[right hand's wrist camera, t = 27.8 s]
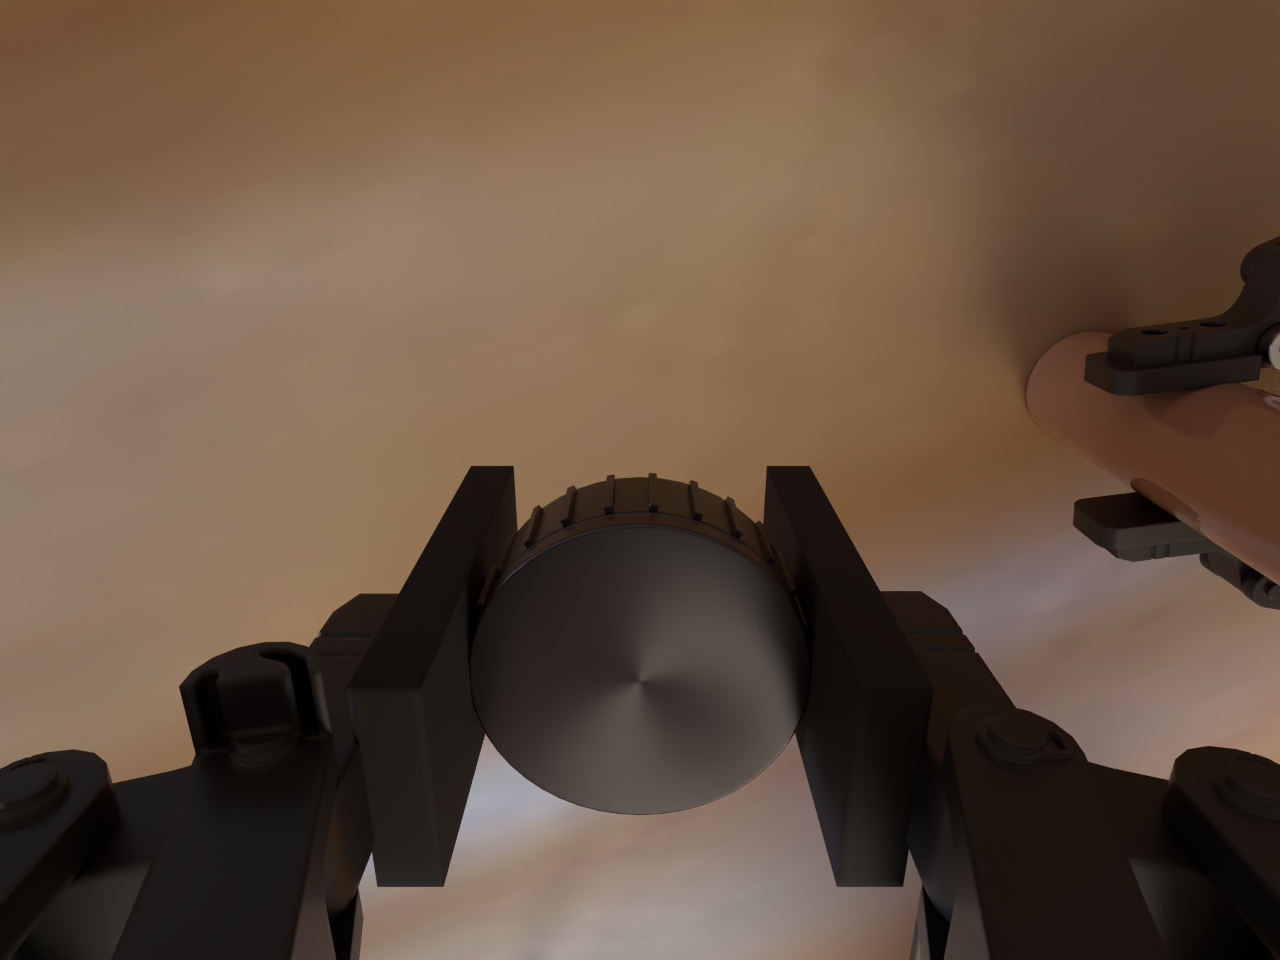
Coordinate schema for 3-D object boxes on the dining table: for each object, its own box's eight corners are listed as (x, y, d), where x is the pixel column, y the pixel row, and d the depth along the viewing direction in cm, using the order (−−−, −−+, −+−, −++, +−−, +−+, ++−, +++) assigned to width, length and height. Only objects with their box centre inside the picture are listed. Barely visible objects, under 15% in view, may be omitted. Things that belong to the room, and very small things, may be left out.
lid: (444, 686, 13) (416, 759, 11) (546, 421, 11) (531, 463, 9) (716, 777, 13) (726, 858, 12) (849, 539, 12) (882, 595, 10)
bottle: (1017, 351, 29) (1488, 584, 13) (1132, 315, 28) (1765, 509, 12) (1033, 452, 30) (1476, 773, 14) (1143, 419, 30) (1725, 713, 14)
